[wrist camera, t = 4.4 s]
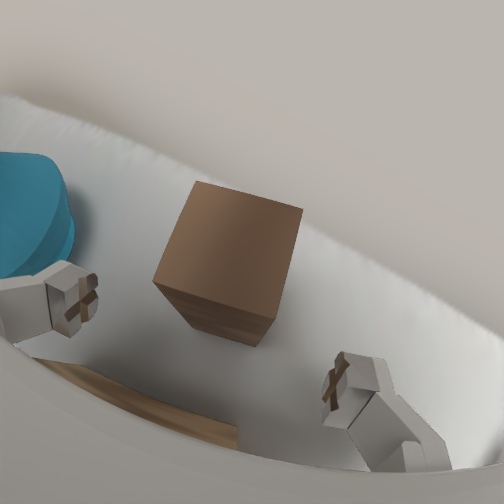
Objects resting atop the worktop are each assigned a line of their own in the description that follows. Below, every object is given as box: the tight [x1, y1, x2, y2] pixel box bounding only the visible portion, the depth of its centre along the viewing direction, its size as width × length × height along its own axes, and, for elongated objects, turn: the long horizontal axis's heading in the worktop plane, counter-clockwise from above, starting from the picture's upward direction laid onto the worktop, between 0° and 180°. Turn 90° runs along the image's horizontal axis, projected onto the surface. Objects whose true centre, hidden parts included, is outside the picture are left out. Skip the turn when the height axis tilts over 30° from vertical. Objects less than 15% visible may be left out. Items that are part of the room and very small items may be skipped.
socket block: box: [31, 357, 237, 451], centre depth 9 cm, size 10×10×9 cm
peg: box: [152, 181, 303, 347], centre depth 14 cm, size 4×4×9 cm
